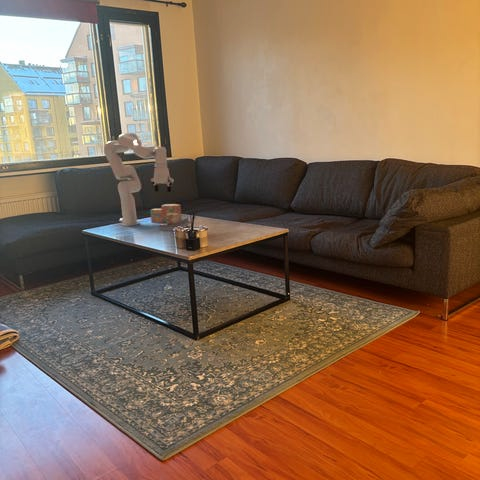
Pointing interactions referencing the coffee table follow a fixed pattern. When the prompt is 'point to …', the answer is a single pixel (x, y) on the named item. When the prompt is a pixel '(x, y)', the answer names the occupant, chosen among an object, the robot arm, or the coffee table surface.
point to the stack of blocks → (165, 212)
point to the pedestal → (172, 218)
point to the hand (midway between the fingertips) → (163, 191)
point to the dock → (170, 227)
